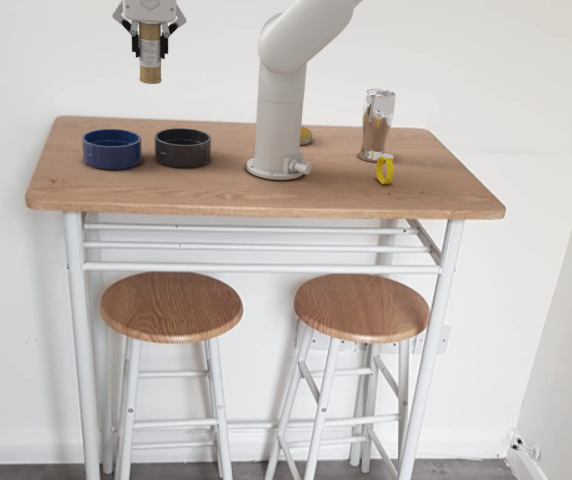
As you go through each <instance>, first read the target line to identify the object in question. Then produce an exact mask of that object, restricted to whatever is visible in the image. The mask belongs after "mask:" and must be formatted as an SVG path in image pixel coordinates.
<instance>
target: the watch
mask: <svg viewBox="0 0 572 480" xmlns="http://www.w3.org/2000/svg"><path fill="white" fill-rule="evenodd" d="M394 158H395V157H394V155H393V154H391V153H385V154H381V156H380V157H379V159H378V161H377V162H376V168H375V169H376V170H375V173H376V180H378V181H379V182H380V184H381V185H389V184H391V182H392V180H393V178H394V162H393V160H394ZM384 162H385V165H386V175H385V177H384V173H383V172H384V171H383V170H384V169H383V168H384V167H383V165H384Z"/></svg>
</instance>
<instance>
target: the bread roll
mask: <svg viewBox="0 0 572 480" xmlns="http://www.w3.org/2000/svg"><path fill="white" fill-rule="evenodd" d="M312 139H313V133H312V131H311V130H310V128H308V127H306V126H303V125H301V135H300V146H303V145H307V144H309V143H310V142H312Z"/></svg>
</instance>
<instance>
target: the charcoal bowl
mask: <svg viewBox="0 0 572 480" xmlns="http://www.w3.org/2000/svg"><path fill="white" fill-rule="evenodd" d="M153 140H154V157H155V160H156V161H158V162H159V163H161V164H163V165H165V166H168V167H171V168H180V169H181V168H182V169H190V168H199V167H201V166H205V165H206V164H208V163H209V162H210V161H211V159H212V137H211V135H210V134H209V133H207V132H205V131H202V130H199V129H194V128H185V127H173V128H166V129H162V130H159V131H157V132H155V134H154V139H153Z"/></svg>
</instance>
